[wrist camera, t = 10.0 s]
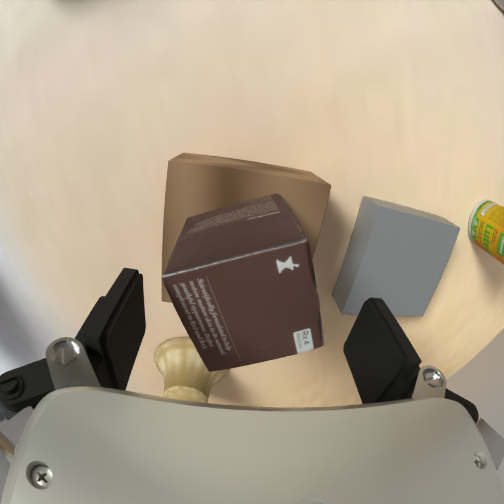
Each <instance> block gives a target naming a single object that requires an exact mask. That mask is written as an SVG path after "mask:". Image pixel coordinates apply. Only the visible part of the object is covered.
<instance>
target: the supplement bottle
mask: <svg viewBox="0 0 504 504" xmlns="http://www.w3.org/2000/svg"><path fill="white" fill-rule="evenodd" d="M468 232H469V236H470V239H471V240H472V241H473V242H474V243H475V244H476V245H478V246H479V247H481V248H482V249H484V250H485V251H486V252H488V253H489V254H491V255H492V256H493V257H495V258H496V259H497V260H499V261H500V262H501V263H503V264H504V207H502V206H500V205H498V204H496V203H494V202H492V201H489V200H483V201H481V202H479V203H478V204H477V205H476V207H475V208H474V209H473V211H472V213H471V216H470V219H469V224H468Z"/></svg>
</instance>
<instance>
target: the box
mask: <svg viewBox="0 0 504 504" xmlns="http://www.w3.org/2000/svg"><path fill="white" fill-rule="evenodd" d="M162 281H163V283H164V286H165V288H166V290H167V292H168V294H169V296H170V299H171V301H172V303H173V305H174V307H175V309H176V311H177V313H178V315H179V317H180V319H181V321H182V323H183V325H184V327H185V329H186V331H187V333H188V335H189V337H190V339H191V341H192V342H193V344H194V346H195V348H196V350H197V352H198V354H199V356H200V358H201V359H202V361H203V363H204V365H205V366H206V368H207V370H208V371H209V372H213V371H219V370H225V369H230V368H236V367H241V366H245V365H250V364H255V363H259V362H264V361H269V360H273V359H278V358H282V357H286V356H290V355H295V354H299V353H303V352H306V351H309V350H312V349H316V348H318V347H321V346H323V345H324V340H323V330H322V324H321V316H320V303H319V297H318V293H317V288H316V282H315V275H314V268H313V262H312V255H311V250H310V244H309V241H308V239H307V238H306V237H305V235H304V233H303V231H302V229H301V228H300V226H299V225H298V223H297V221H296V220H295V218H294V216H293V215H292V213H291V211H290V210H289V208H288V207H287V205H286V204H285V202H284V200H283V199H282V197H281V196H280V194H272V195H269V196H264V197H261V198H257V199H253V200H249V201H246V202H242V203H238V204H234V205H231V206H227V207H223V208H220V209H216V210H213V211H209V212H206V213H202V214H199V215H195V216H192V217H188V218H187V219H186V221H185V224H184V226H183V228H182V231H181V233H180V235H179V237H178V240H177V242H176V245H175V247H174V249H173V252H172V254H171V256H170V258H169V260H168V265H167V267H166V269H165V271H164V273H163V275H162Z"/></svg>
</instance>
